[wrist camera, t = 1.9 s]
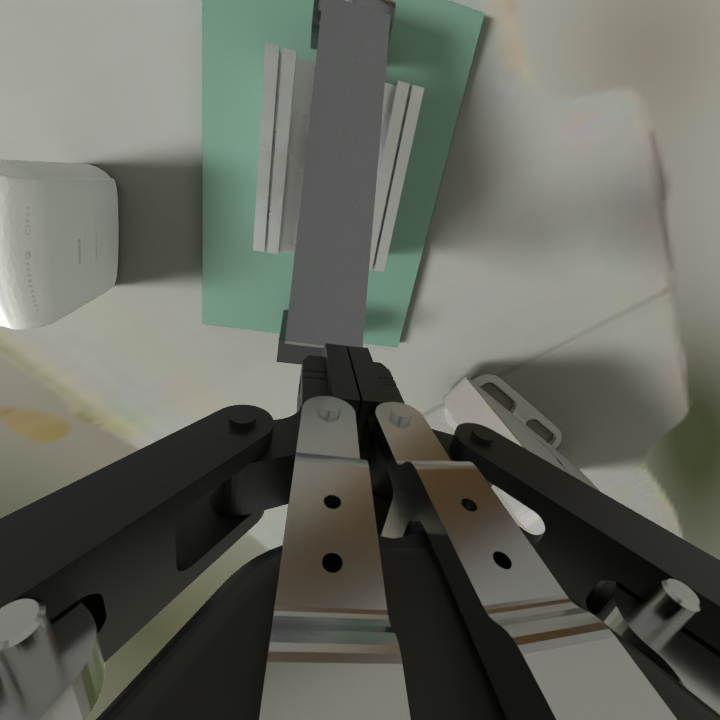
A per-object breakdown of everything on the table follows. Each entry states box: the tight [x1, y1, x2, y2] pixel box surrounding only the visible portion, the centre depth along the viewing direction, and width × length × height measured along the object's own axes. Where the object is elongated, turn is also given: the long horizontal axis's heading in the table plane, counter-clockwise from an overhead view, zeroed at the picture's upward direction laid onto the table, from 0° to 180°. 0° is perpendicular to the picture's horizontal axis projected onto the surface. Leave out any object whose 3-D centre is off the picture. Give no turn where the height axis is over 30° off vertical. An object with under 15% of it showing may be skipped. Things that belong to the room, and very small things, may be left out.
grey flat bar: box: [285, 0, 396, 348], centre depth 20 cm, size 21×4×1 cm
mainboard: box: [202, 0, 485, 347], centre depth 31 cm, size 28×20×1 cm
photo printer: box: [0, 160, 119, 329], centre depth 25 cm, size 10×4×12 cm, turn 163°
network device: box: [442, 374, 599, 535], centre depth 39 cm, size 26×9×20 cm, turn 49°
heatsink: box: [253, 0, 424, 364], centre depth 28 cm, size 24×10×7 cm, turn 169°
